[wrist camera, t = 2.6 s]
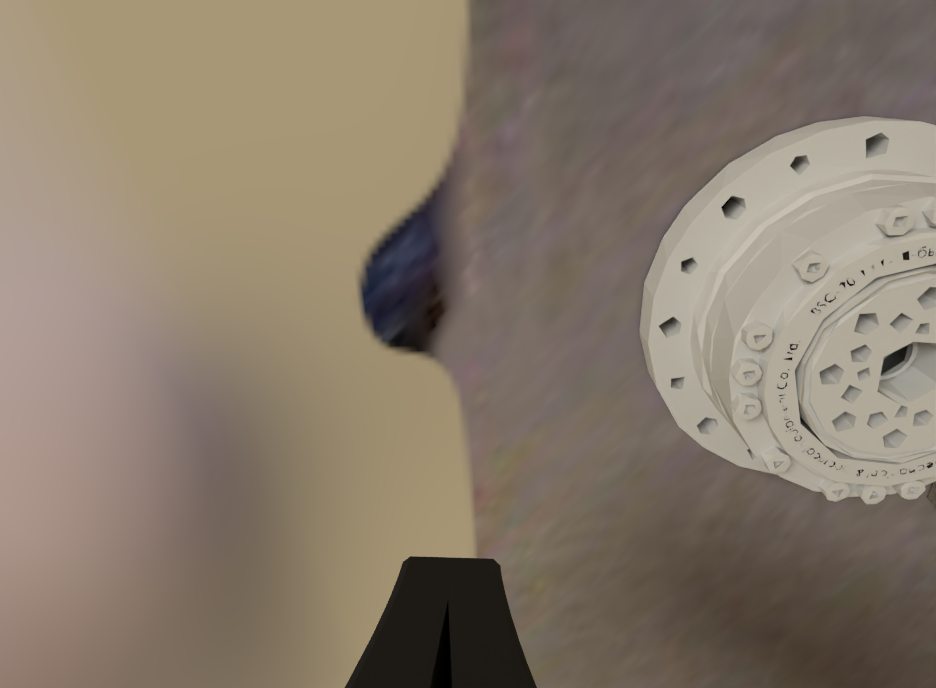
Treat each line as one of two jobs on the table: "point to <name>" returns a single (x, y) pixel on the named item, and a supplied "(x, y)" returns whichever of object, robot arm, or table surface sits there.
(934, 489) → the bracket
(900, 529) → the table surface
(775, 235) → the mechanical component
